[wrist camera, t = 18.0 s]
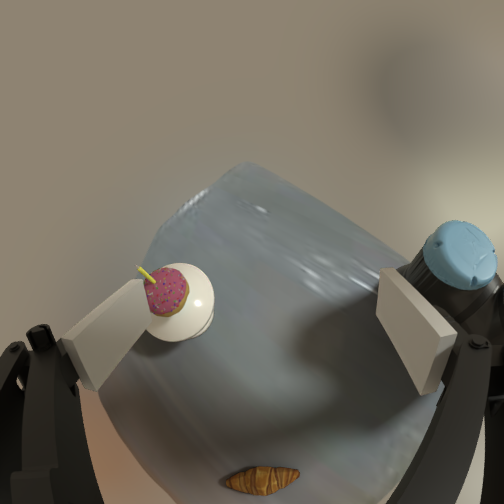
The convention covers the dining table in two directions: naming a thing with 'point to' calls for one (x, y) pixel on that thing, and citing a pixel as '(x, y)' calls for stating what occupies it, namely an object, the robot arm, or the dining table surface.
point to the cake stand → (187, 309)
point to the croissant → (262, 480)
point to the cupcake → (165, 291)
